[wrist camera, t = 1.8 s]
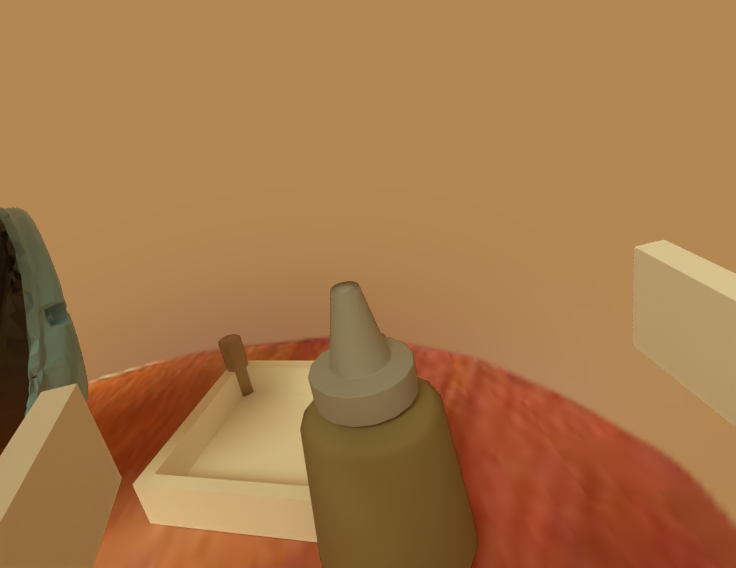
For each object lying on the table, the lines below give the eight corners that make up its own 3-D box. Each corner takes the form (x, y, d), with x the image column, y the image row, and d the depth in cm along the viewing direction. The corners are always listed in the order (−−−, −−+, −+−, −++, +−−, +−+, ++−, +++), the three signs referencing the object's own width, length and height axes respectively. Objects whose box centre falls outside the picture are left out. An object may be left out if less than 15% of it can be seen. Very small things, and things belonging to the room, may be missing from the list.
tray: (149, 523, 37) (116, 454, 35) (244, 392, 49) (225, 334, 47) (349, 546, 33) (329, 469, 31) (400, 396, 45) (388, 332, 43)
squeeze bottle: (423, 502, 35) (376, 234, 28) (517, 597, 29) (489, 280, 21) (309, 574, 32) (219, 293, 24) (385, 702, 25) (295, 370, 18)
